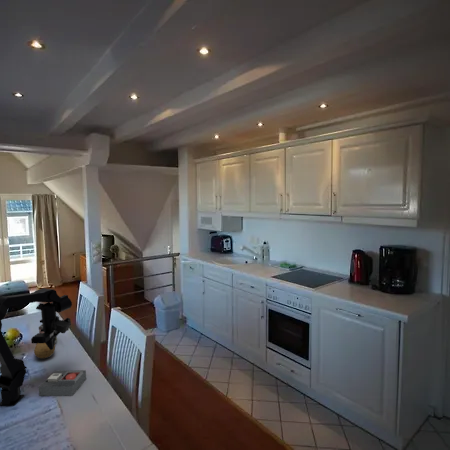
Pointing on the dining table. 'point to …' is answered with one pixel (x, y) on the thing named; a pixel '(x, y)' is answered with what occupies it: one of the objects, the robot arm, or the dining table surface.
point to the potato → (43, 350)
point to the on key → (54, 377)
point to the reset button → (71, 376)
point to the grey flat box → (63, 384)
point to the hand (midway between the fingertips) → (51, 349)
